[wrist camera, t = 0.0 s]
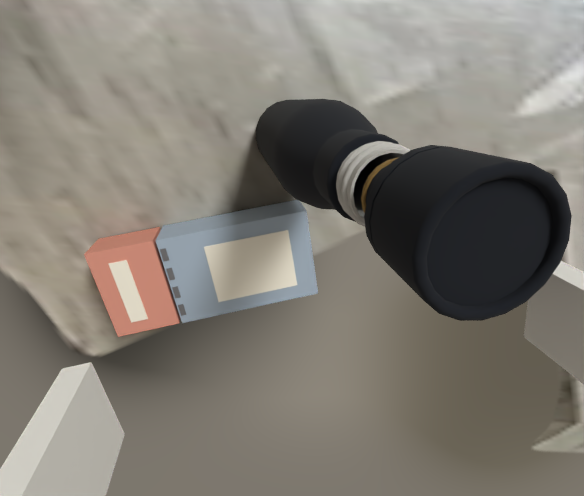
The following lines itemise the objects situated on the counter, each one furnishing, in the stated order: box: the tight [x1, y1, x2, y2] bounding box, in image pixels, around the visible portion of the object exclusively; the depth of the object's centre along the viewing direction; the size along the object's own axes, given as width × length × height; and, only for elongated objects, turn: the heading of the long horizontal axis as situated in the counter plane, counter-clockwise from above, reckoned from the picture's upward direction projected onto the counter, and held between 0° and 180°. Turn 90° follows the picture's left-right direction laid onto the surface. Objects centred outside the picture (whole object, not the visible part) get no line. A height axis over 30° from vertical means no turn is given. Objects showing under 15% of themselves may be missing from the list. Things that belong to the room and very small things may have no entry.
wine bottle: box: [256, 99, 571, 320], centre depth 22 cm, size 6×6×30 cm
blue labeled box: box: [156, 200, 318, 323], centre depth 37 cm, size 9×14×4 cm, turn 99°
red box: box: [84, 227, 180, 337], centre depth 36 cm, size 9×6×4 cm, turn 9°
